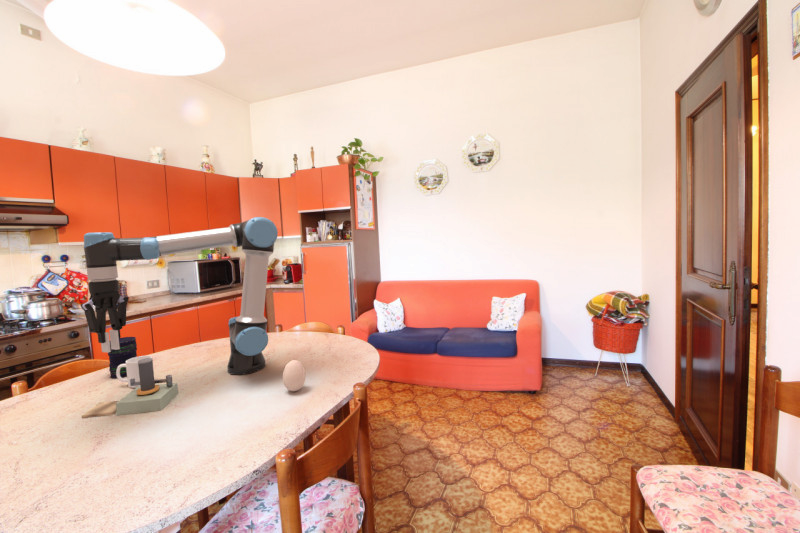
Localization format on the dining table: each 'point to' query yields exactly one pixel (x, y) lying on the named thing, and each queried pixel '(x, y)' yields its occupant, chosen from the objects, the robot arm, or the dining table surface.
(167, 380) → the clip
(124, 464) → the dining table surface
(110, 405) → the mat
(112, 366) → the storage jar
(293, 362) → the egg
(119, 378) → the cup
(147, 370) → the plug
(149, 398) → the socket block
